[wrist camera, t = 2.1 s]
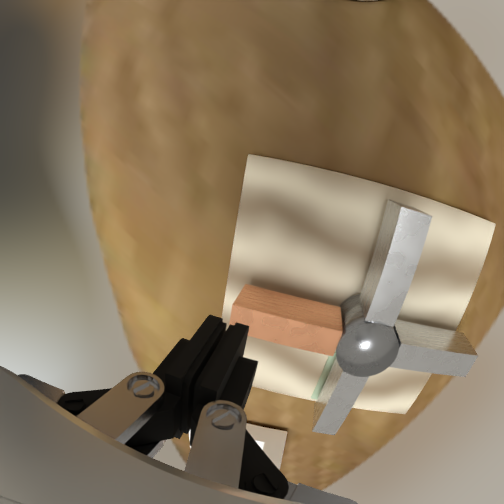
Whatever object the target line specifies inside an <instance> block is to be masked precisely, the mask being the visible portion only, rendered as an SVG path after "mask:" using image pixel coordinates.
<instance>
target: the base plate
mask: <svg viewBox="0 0 504 504" xmlns="http://www.w3.org/2000/svg"><path fill="white" fill-rule="evenodd" d="M388 199H389V200H392V201H395V202H399V203H402V204H405V205H409V206H412V207H415V208H417V209H419V210H421V211H423V212H425V213H427V214H429V215H431V216H432V219H431V223H430V226H429V230H428V233H427V237H426V240H425V243H424V247H423V250H422V253H421V256H420V259H419V262H418V265H417V268H416V271H415V274H414V277H413V279H412V282H411V285H410V287H409V290H408V293H407V295H406V298H405V300H404V303H403V305H402V308H401V310H400V313H399V315H398V317H397V320H401V321H406V322H411V323H416V324H420V325H425V326H430V327H435V328H441V329H446V330H451V331H456V328H457V326H458V324H459V322H460V320H461V318H462V316H463V314H464V311H465V309H466V307H467V305H468V302H469V300H470V298H471V295H472V293H473V290H474V288H475V285H476V283H477V280H478V278H479V275H480V272H481V269H482V267H483V264H484V261H485V258H486V255H487V252H488V249H489V246H490V242H491V239H492V236H493V232H494V229H495V225H496V224H494V223H492V222H490V221H487V220H485V219H483V218H480V217H478V216H475V215H472V214H470V213H467V212H465V211H462V210H459V209H457V208H454V207H451V206H448V205H446V204H443V203H440V202H437V201H434V200H431V199H428V198H425V197H422V196H419V195H416V194H413V193H410V192H407V191H404V190H400V189H397V188H394V187H390V186H387V185H383V184H380V183H376V182H373V181H369V180H366V179H362V178H358V177H354V176H350V175H347V174H343V173H339V172H334V171H330V170H326V169H322V168H317V167H313V166H308V165H304V164H299V163H294V162H289V161H284V160H279V159H274V158H269V157H263V156H258V155H252V154H248V159H247V164H246V170H245V176H244V182H243V187H242V193H241V199H240V205H239V211H238V217H237V223H236V229H235V236H234V242H233V248H232V254H231V261H230V267H229V274H228V280H227V287H226V293H225V300H224V306H223V313H222V319H223V322H224V323H227V327H226V330H227V329H228V327H229V322H230V316H231V310H232V304H233V303H234V301H235V300H236V298H237V296H238V295H239V293H240V292H241V290H242V289H243V287H244V285H245V284H248V285H252V286H256V287H260V288H264V289H268V290H271V291H275V292H279V293H283V294H288V295H292V296H296V297H300V298H304V299H308V300H312V301H316V302H321V303H325V304H329V305H333V306H338V307H339V306H340V305H341V303H342V302H343V301H345V300H346V299H347V298H349V297H351V296H353V295H357V294H361V291H362V288H363V285H364V282H365V279H366V276H367V273H368V269H369V266H370V263H371V260H372V256H373V253H374V250H375V246H376V243H377V239H378V236H379V232H380V229H381V225H382V221H383V217H384V213H385V209H386V205H387V201H388ZM243 357H245V358H249V359H252V360H256V361H258V365H257V369H256V373H255V377H254V380H253V384H252V386H254V387H257V388H261V389H265V390H269V391H273V392H277V393H281V394H285V395H289V396H294V397H298V398H303V399H308V400H313V401H317V399H318V397H319V394H320V392H321V390H322V388H323V386H324V384H325V382H326V379H327V377H328V375H329V373H330V370H331V368H332V366H333V363H334V361H335V359H336V350H335V353H334V355H333V356H328V355H324V354H319V353H315V352H310V351H306V350H302V349H297V348H293V347H289V346H285V345H281V344H277V343H273V342H269V341H265V340H262V339H258V338H254V337H250V336H247V341H246V346H245V351H244V355H243ZM431 374H432V373H427V372H420V371H412V370H406V369H399V368H393V367H388V368H387V369H386V370H384V371H383V372H381V373H379V374H376V375H373V376H369V378H368V380H367V382H366V384H365V386H364V387H363V389H362V391H361V393H360V395H359V396H358V398H357V400H356V402H355V403H354V405H353V407H352V408H359V409H366V410H373V411H381V412H391V413H401V414H405V413H406V412H407V411H408V409H409V408H410V406H411V405H412V404H413V402H414V401H415V399H416V398H417V396H418V395H419V393H420V392H421V390H422V389H423V387H424V385H425V384H426V382H427V381H428V379H429V377H430V376H431Z"/></svg>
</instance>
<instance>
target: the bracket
mask: <svg viewBox="0 0 504 504" xmlns="http://www.w3.org/2000/svg"><path fill="white" fill-rule="evenodd" d="M246 430H247V431H248V432H249V433H250V435H251V436H252V437H253V439H254V440H255V441H256V442H257V444H258V445H259V446H260V447H261V449H262V450H263V451H264V452H265V454H266V455H267V456H268V457H269V459H270V460H271V461H272V462H273V463H274V465H275V466H276V467H277V468H278V469H279V470H280V465H281V461H282V456H283V451H284V447H285V442H286V437H287V431H282V430H276V429H271V428H266V427H261V426H256V425H252V424H247V423H246ZM190 431H191V429H190ZM190 431H189V439H190ZM190 448H191V446H190Z"/></svg>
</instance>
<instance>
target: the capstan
mask: <svg viewBox="0 0 504 504" xmlns="http://www.w3.org/2000/svg"><path fill="white" fill-rule="evenodd" d="M431 219H432V216H431V215H429V214H427V213H425V212H423V211H421V210H419V209H417V208H415V207H412V206H409V205H405V204H402V203H399V202H395V201H392V200H389V199H388V201H387V205H386V209H385V213H384V217H383V221H382V225H381V229H380V232H379V236H378V239H377V243H376V246H375V250H374V253H373V256H372V260H371V263H370V266H369V269H368V273H367V276H366V279H365V282H364V285H363V288H362V291H361V294H357V295H353V296H351V297H349V298H347V299H346V300H345V301H343V302H342V303H341V305H340V306H339V307H338V306H333V305H329V304H325V303H321V302H316V301H312V300H308V299H304V298H300V297H296V296H292V295H288V294H283V293H279V292H275V291H271V290H268V289H264V288H260V287H256V286H252V285H248V284H245V285H244V287H243V289H242V290H241V292H240V293H239V295H238V296H237V298H236V300H235V301H234V303H233V304H232V310H231V316H230V322H229V325H230V324H231V325H235V323H236V322H237V323H240V324H244V325H248V326H249V332H248V336H250V337H254V338H258V339H262V340H265V341H269V342H273V343H277V344H281V345H285V346H289V347H293V348H297V349H302V350H306V351H310V352H315V353H319V354H324V355H328V356H333V355H334V353H335V350H336V359H335V361H334V363H333V366H332V368H331V370H330V373H329V375H328V377H327V379H326V382H325V384H324V386H323V388H322V390H321V392H320V394H319V397H318V399H317V401H316V403H315V408H314V418H313V428H312V431H313V432H319V433H325V434H331V435H335V434H336V432H337V431H338V429H339V428H340V426H341V425H342V423H343V421H344V420H345V418H346V417H347V415H348V413H349V412H350V410H351V408H352V407H353V405H354V403H355V402H356V400H357V398H358V396H359V395H360V393H361V391H362V389H363V387H364V386H365V384H366V382H367V380H368V378H369V376H373V375H376V374H379V373H381V372H383V371H384V370H386V369H387V368H388V367H393V368H399V369H406V370H412V371H420V372H427V373H435V374H444V375H453V376H464V377H465V376H466V375H467V373H468V372H469V370H470V369H471V367H472V365H473V363H474V362H475V360H476V358H477V357H478V355H477V353H476V352H475V350H474V348H473V347H472V345H471V344H470V342H469V341H468V339H467V338H466V336H465V335H464V333H462V332H456V331H451V330H446V329H441V328H435V327H430V326H425V325H420V324H416V323H411V322H406V321H401V320H397V317H398V315H399V313H400V310H401V308H402V305H403V303H404V300H405V298H406V295H407V293H408V290H409V287H410V285H411V282H412V279H413V277H414V274H415V271H416V268H417V265H418V262H419V259H420V256H421V253H422V250H423V247H424V243H425V240H426V237H427V233H428V230H429V226H430V223H431Z"/></svg>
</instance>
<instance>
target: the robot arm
mask: <svg viewBox="0 0 504 504" xmlns="http://www.w3.org/2000/svg"><path fill="white" fill-rule="evenodd" d="M359 1H376V0H359ZM226 327H227V323H224V322H223V319H222V318H219V317H216V316H213V315H209V316H208V317H207V318H206V320H205V321H204V322H203V324H202V325H201V326H200V328H199V329H198V330H197V332H196V333H195V334H194V336H193V337H192V338H191V340H187V339H184V338H182V339H181V340H180V341H179V342H178V343H177V344H176V345H175V347H174V348H173V349H172V350H171V352H170V353H169V354H168V355H167V357H166V358H165V359H164V360H163V361H162V363H161V364H160V365H159V366H158V368H157V369H156V370H155V371H154V373H153V374H151V373H147V372H136V373H132V374H130V375H129V376H127V377H126V378H125V379H123V380H122V381H121V382H120V383H118V384H117V385H116V386H114V387H113V388H110V389H103V390H93V391H82V392H72V393H67V394H65V392H64V390H62V389H59V388H57V387H54V386H52V385H49V384H47V383H45V382H42V381H40V380H38V379H35V378H33V377H31V376H29V375H25V374H20V375H16V374H15V373H13V372H11V371H10V370H8V369H6V368H4V367H2V366H0V504H358V503H356V502H355V501H353V500H351V499H348V498H344V497H341V496H337V495H334V494H330V493H327V492H324V491H321V490H318V489H315V488H312V487H309V486H306V485H303V484H301V483H299V484H298V485H296V484H293V483H291V482H288V481H287V479H286V478H285V476H284V475H283V474H282V473H281V472H280V470H279V469H278V468H277V467H276V466H275V465H274V463H273V462H272V461H271V460H270V459H269V457H268V456H267V455H266V454H265V452H264V451H263V450H262V449H261V447H260V446H259V445H258V444H257V442H256V441H255V440H254V439H253V437H252V436H251V435H250V433H249V432H248V431H247V430H246V423H247V417H246V414H245V412H244V407H245V404H246V402H247V399H248V396H249V393H250V390H251V387H252V384H253V380H254V377H255V373H256V369H257V365H258V361H256V360H252V359H249V358H245V357H243V355H244V351H245V346H246V341H247V336H248V332H249V326H248V325H244V324H240V323H237V322H236V323H235V325H231V324H230V325H229V327H228V329H227V330H226ZM190 429H191V431H190ZM189 431H190V446H191V450H190V453H189V457H188V460H187V464H186V467H185V471H182V470H179V469H177V468H174V467H172V466H169V465H167V464H165V463H162V462H160V461H158V460H155V459H153V457H154V456H155V455H156V454H157V452H158V451H159V450H160V449H161V448H162V447H163V446H164V444H165V442H166V440H167V439H171V438H174V437H176V438H179V439H180V437H181V436H182V434H183V433H186V434H188V433H189Z"/></svg>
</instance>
